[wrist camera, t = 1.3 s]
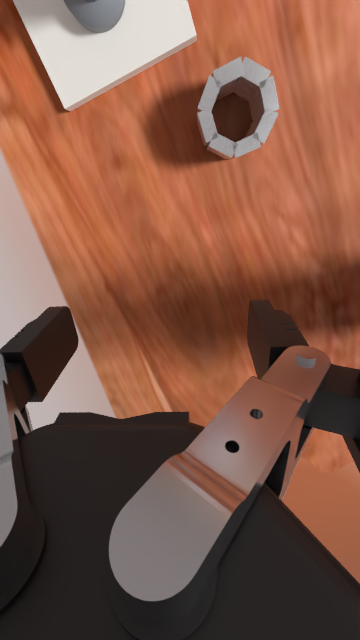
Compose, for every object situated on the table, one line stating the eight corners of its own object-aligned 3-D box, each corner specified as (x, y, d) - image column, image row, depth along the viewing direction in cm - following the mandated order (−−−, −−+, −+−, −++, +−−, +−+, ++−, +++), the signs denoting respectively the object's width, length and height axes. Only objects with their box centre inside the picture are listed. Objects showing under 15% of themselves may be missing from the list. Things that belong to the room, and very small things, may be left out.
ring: (253, 66, 23) (267, 42, 18) (268, 141, 25) (284, 136, 21) (189, 98, 24) (188, 83, 19) (210, 167, 26) (213, 167, 22)
